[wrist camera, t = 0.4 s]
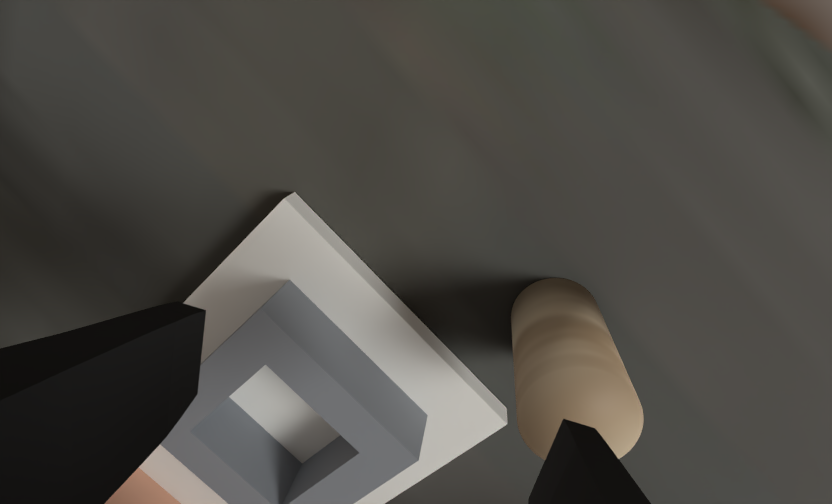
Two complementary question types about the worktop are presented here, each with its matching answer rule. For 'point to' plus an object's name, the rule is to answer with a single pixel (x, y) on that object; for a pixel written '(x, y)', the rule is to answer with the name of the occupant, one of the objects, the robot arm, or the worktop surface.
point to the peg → (569, 368)
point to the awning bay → (311, 383)
